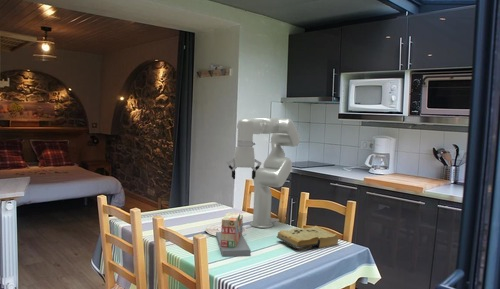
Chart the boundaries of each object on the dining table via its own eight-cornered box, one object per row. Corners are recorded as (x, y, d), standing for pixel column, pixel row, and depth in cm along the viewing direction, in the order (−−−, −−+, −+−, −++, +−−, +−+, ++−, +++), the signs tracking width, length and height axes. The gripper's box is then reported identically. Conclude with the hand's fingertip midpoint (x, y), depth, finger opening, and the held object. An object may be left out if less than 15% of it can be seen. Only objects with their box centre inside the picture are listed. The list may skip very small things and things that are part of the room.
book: (316, 235, 195) (316, 224, 195) (339, 245, 181) (339, 233, 181) (275, 242, 183) (276, 230, 182) (296, 253, 168) (297, 240, 168)
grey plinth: (240, 236, 188) (240, 231, 188) (250, 255, 162) (250, 250, 162) (216, 237, 186) (216, 232, 185) (222, 256, 160) (222, 250, 160)
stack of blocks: (229, 232, 186) (230, 207, 185) (242, 233, 185) (243, 208, 184) (220, 246, 165) (221, 218, 164) (234, 248, 164) (236, 220, 163)
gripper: (260, 144, 193) (258, 177, 194) (226, 143, 190) (225, 177, 191) (263, 145, 186) (262, 180, 187) (228, 144, 182) (227, 180, 184)
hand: (243, 178), depth 189 cm, fingers open, 9 cm apart
